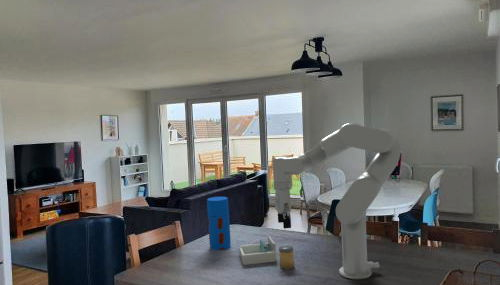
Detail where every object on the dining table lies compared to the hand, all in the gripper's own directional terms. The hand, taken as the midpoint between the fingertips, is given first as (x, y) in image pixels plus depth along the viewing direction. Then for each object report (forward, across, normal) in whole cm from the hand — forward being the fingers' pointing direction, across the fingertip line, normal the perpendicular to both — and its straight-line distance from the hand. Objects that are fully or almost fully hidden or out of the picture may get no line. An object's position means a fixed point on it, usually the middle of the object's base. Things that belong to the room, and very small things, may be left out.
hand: (284, 225), depth 166 cm
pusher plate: (+17, -14, -7) cm, 23 cm away
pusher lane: (+18, -14, -10) cm, 25 cm away
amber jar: (+18, 0, 0) cm, 18 cm away
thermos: (+18, -36, -26) cm, 48 cm away
